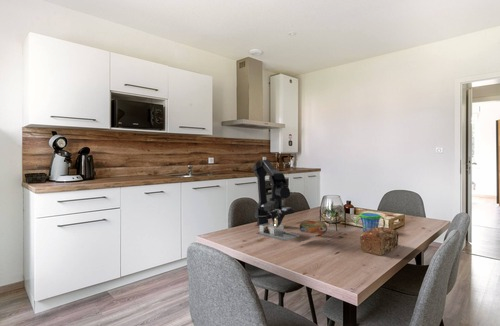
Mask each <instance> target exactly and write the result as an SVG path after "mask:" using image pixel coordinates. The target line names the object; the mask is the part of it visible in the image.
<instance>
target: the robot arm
mask: <svg viewBox="0 0 500 326" xmlns="http://www.w3.org/2000/svg"><path fill="white" fill-rule="evenodd" d="M252 170H253V174H254V176H256V178H257V189H258V190H257V192H258V203H257V204H256V209H255V212H254V217H255V218H256V226H259V227H260V225H261V224H266V223H269V218H270V219H271V220H272V223H273V225H274V217H278V225H282V221H283V220H284V218H285V216H286V215H291V214H294V212H295V211H294V208H293V207H291V206H290V207H289V206H286V207H285V206H284V204H283V200H285V199H288V198H289V197H290V195H291V190H290V189H289V187H288V184H287V183H288V182H287V179H286V177H285V174H284V173H283V172H282V171H280V170H277V168H275V166H274V164H272V163H271V161H270V160H269V159H262V160H260V161H258V162H256V163H254V164H253V168H252ZM267 174H268V180H269V182H270V187H271V197H269V201H268V199H267V186H266V184H267V183H266V176H267Z"/></svg>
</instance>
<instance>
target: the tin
mask: <svg viewBox="0 0 500 326" xmlns="http://www.w3.org/2000/svg"><path fill="white" fill-rule="evenodd" d="M299 230H300V232H301V233H303V232H304V233H309V234H316V235H315V237H318V238H321V237H324V236H325V235H326V234H327V232H328V225H327V224H326V223H325V222H324V221H321V220H315V219H303V220H301V222H300V224H299Z"/></svg>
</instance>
